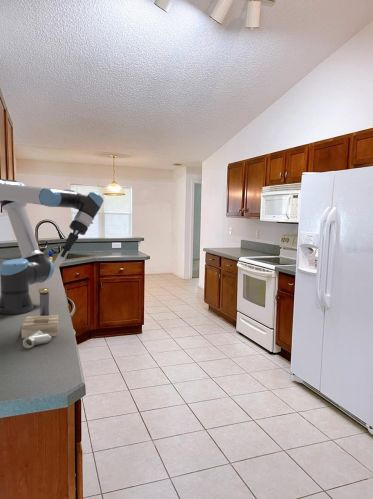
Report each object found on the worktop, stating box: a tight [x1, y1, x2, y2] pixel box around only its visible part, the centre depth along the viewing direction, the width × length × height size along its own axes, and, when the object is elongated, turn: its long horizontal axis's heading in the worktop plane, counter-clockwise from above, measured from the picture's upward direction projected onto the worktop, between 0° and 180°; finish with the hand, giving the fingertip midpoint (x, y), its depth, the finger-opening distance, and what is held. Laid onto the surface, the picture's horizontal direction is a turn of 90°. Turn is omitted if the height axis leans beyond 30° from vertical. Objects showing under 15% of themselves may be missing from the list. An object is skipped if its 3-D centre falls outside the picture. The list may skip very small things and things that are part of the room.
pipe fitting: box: [22, 330, 52, 349], centre depth 120 cm, size 8×4×7 cm
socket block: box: [20, 314, 60, 340], centre depth 134 cm, size 14×12×4 cm
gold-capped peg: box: [38, 287, 51, 316], centre depth 148 cm, size 4×4×13 cm
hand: (56, 265), depth 150 cm, fingers open, 13 cm apart
